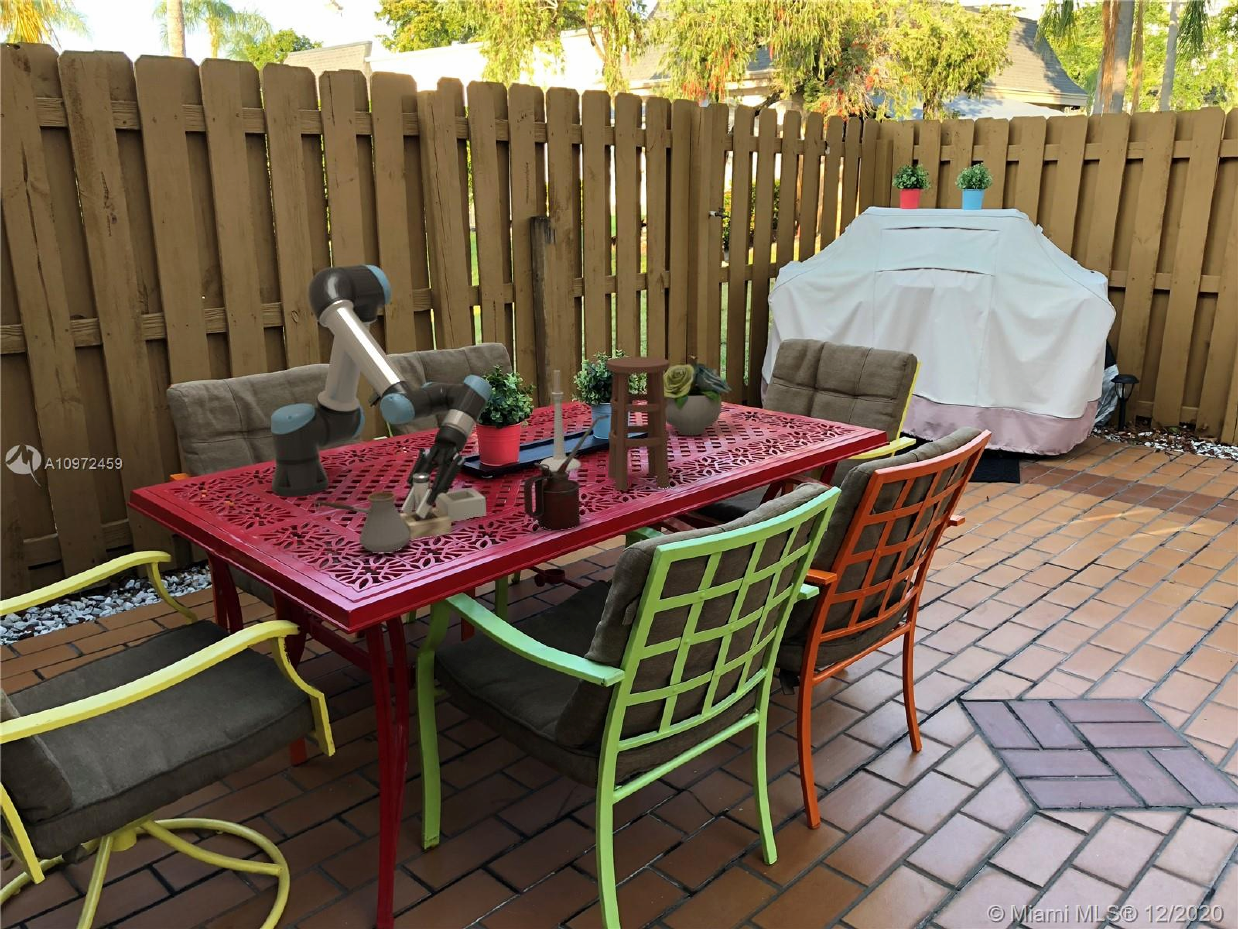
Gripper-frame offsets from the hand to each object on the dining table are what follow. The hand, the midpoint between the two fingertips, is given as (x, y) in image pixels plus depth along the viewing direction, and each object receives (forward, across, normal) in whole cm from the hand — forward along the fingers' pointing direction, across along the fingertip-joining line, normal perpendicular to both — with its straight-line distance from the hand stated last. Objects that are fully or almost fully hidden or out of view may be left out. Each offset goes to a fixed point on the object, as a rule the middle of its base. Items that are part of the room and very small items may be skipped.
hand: (412, 513), depth 211 cm
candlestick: (-43, +4, -52) cm, 68 cm away
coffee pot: (+14, +2, +5) cm, 15 cm away
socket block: (+1, 0, -7) cm, 7 cm away
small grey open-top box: (-9, +1, -17) cm, 19 cm away
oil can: (-16, -26, -25) cm, 40 cm away
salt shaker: (+1, 0, -6) cm, 6 cm away
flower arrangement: (-83, -13, -92) cm, 124 cm away
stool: (-41, -26, -50) cm, 69 cm away
